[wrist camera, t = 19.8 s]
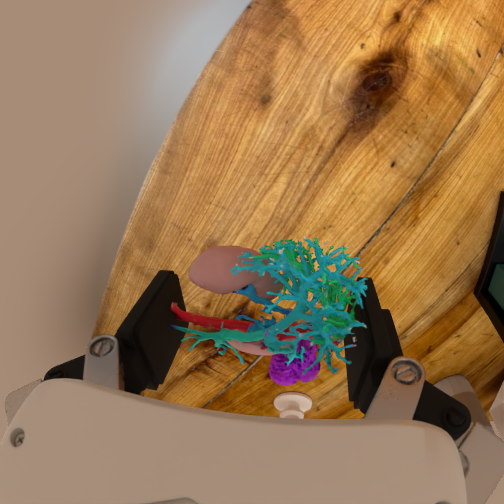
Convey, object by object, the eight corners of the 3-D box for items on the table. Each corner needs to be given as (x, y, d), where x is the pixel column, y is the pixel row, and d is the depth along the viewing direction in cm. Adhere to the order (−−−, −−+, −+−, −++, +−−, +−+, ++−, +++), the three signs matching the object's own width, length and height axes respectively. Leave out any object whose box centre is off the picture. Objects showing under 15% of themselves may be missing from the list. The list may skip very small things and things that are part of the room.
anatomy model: (159, 407, 11) (311, 451, 9) (117, 247, 7) (391, 308, 6) (203, 334, 15) (326, 364, 14) (199, 191, 11) (372, 221, 10)
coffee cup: (461, 403, 32) (479, 477, 19) (402, 415, 35) (412, 498, 22) (488, 358, 27) (521, 444, 14) (423, 371, 30) (446, 473, 16)
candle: (297, 414, 37) (291, 476, 28) (266, 403, 36) (255, 468, 27) (319, 399, 34) (317, 467, 25) (288, 387, 34) (280, 459, 25)
